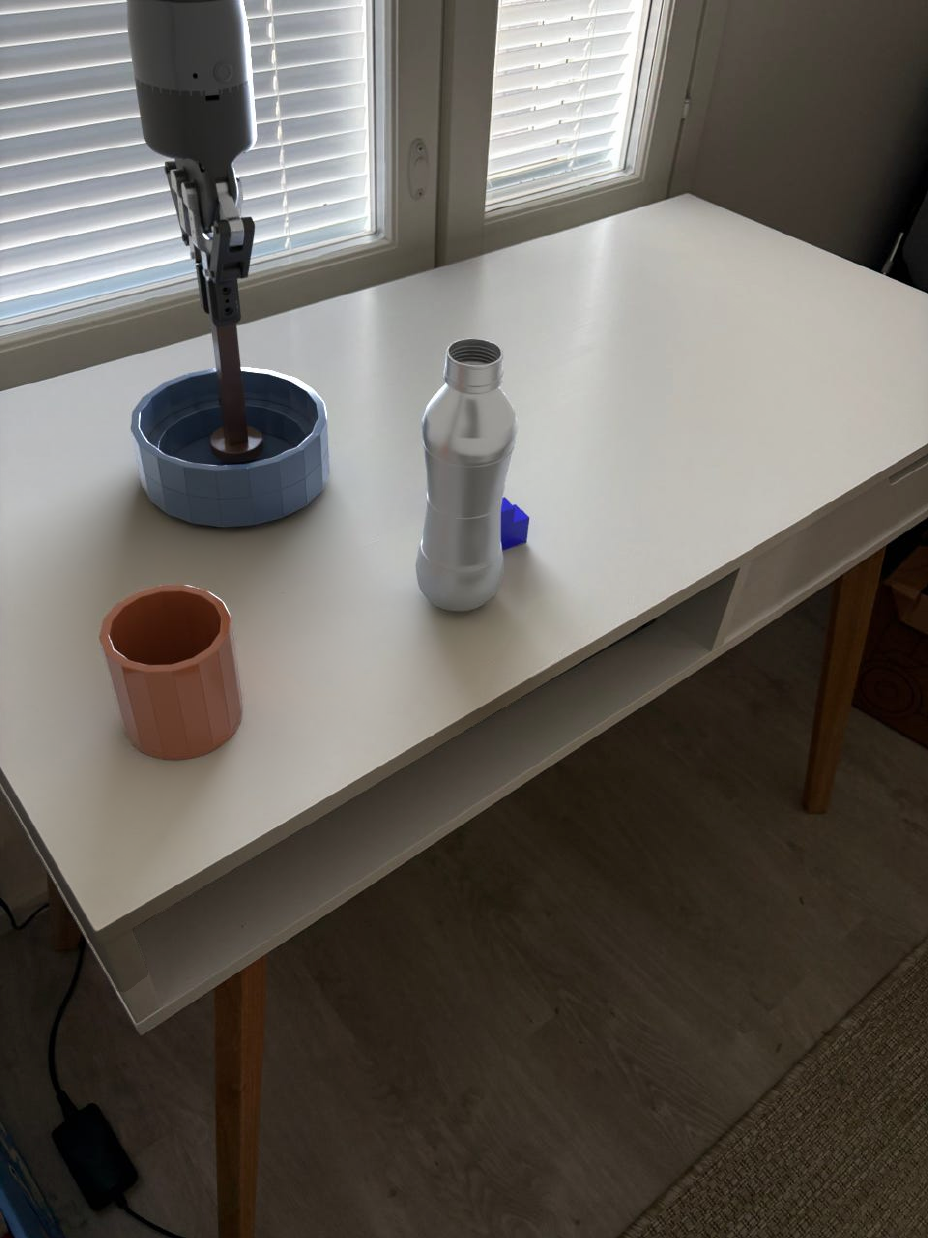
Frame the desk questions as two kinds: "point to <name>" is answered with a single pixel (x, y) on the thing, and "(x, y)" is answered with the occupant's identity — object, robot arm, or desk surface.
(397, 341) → the desk surface
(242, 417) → the disc-ended square rod
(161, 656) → the crock
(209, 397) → the bowl
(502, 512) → the cable holder
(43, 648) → the desk surface
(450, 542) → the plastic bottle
